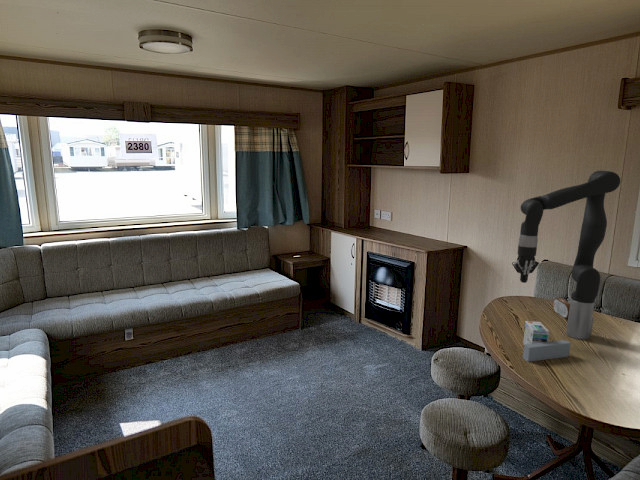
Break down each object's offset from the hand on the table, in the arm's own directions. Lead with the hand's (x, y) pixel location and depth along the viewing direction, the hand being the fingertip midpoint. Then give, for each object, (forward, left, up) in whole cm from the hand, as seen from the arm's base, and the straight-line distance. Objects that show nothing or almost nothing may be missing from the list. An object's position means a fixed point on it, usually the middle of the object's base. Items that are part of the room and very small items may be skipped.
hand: (523, 282), depth 195 cm
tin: (-39, -15, -25) cm, 49 cm away
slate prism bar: (+5, +23, -25) cm, 34 cm away
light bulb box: (+4, +16, -25) cm, 30 cm away
